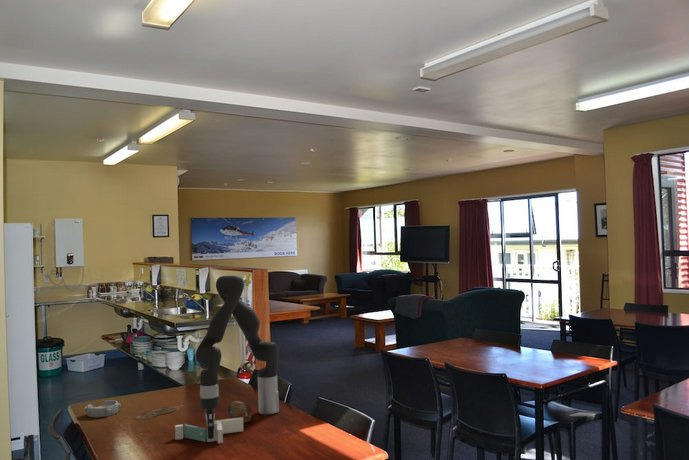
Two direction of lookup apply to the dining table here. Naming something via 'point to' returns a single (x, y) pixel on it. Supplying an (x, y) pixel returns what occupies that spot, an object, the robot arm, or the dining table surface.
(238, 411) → the tin
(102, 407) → the dish
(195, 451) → the dining table surface
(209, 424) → the block
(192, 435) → the teal long flat block
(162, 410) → the wooden fragment
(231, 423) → the grey angled piece
